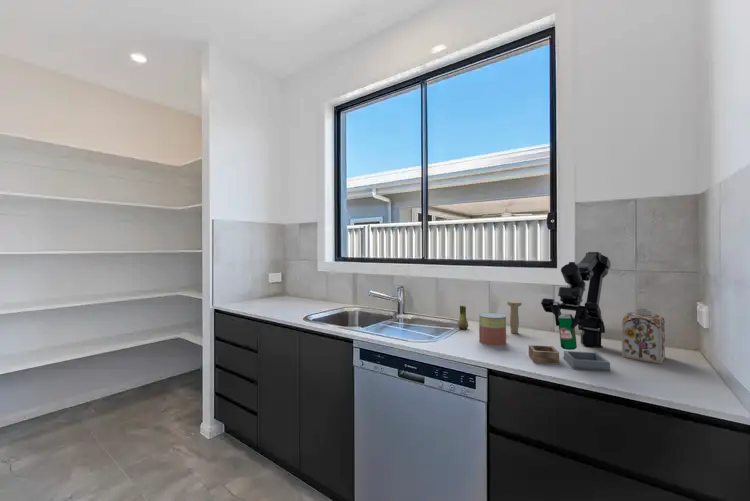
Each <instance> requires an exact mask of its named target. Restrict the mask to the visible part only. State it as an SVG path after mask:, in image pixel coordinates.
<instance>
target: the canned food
mask: <svg viewBox="0 0 750 501" xmlns="http://www.w3.org/2000/svg"><path fill="white" fill-rule="evenodd" d="M478 332H479V333H478V337H479V338H478V343H480V344H481V345H483V346H488V347H503V346H506V345H507V315H506V314H503V313H497V312H483V313H479V314H478Z"/></svg>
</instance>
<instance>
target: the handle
mask: <svg viewBox="0 0 750 501" xmlns="http://www.w3.org/2000/svg"><path fill="white" fill-rule="evenodd" d="M506 304H507V305H508V306H510V314H509V327H510V333H511V334H518V333H519V329H520V328H519V326H520V321H519V320H520V317H519V307H521V306H522V302H521V301H515V300H514V301H512V300H510V301H507V302H506Z"/></svg>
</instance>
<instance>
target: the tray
mask: <svg viewBox="0 0 750 501" xmlns="http://www.w3.org/2000/svg"><path fill="white" fill-rule="evenodd" d="M563 359H564V361H565V362H566V363H567V364H568V365H569V367H571V368H572V369H573V370H582V371H583V370H585V371H597V372H598V371H599V372H611V362H610V361H608V359H606V358H605V357H603V356H602V355H601V354H600V353H598V352H592V351H590V352H589V351H576V350H563Z"/></svg>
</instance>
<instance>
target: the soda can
mask: <svg viewBox="0 0 750 501" xmlns="http://www.w3.org/2000/svg"><path fill="white" fill-rule="evenodd" d="M573 319H574V316H573V314H571V313H561V314H559V316H558V332H559V333H558V334H559V342H560V343H559V344H560V347H561V349H563V350H565V351H575V350H576V349H577V348H578V344H577V336H576V327H575V328H573V329H572V327H571V326H572V322H573Z"/></svg>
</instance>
